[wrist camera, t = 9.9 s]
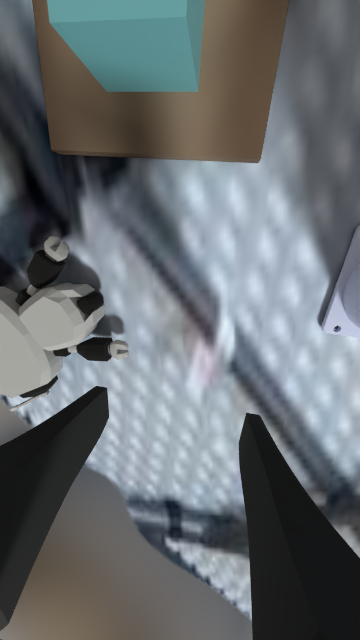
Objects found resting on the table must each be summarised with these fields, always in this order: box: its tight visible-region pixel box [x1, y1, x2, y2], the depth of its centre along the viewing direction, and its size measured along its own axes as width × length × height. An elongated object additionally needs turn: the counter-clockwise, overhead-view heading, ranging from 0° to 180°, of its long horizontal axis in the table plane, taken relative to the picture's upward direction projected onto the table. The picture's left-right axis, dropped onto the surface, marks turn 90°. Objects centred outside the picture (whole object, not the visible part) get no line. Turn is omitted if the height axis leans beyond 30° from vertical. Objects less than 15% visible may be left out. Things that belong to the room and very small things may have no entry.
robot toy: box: [0, 236, 129, 411], centre depth 20 cm, size 12×4×15 cm
